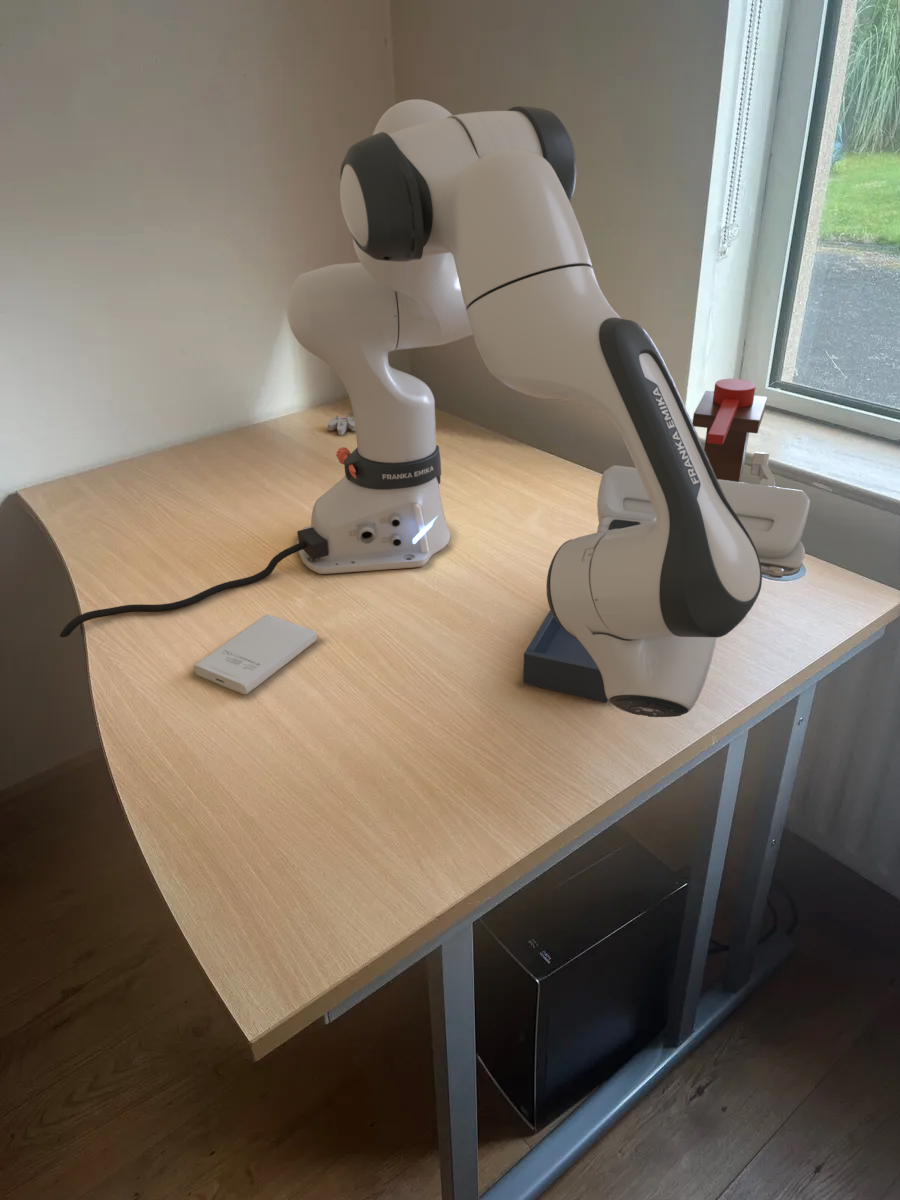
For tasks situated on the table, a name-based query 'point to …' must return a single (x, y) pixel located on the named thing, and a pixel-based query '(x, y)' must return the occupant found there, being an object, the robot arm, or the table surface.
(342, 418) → the game controller
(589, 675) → the bin
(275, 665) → the hard drive
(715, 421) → the red lever with knob
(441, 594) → the table surface
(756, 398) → the stand
